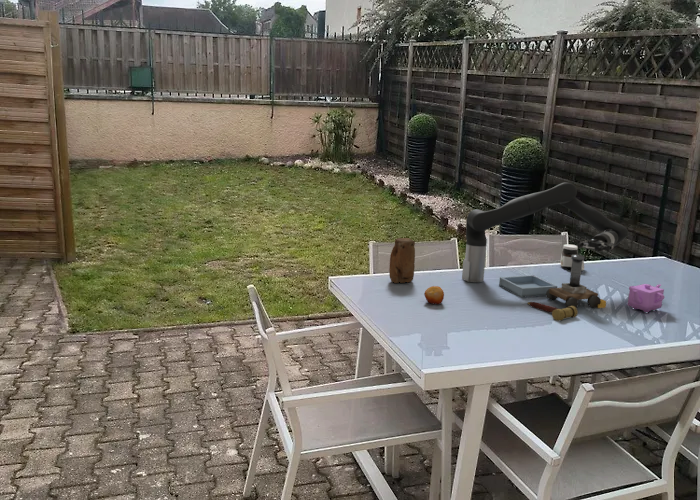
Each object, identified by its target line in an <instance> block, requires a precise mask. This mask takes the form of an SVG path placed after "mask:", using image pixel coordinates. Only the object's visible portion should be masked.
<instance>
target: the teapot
mask: <svg viewBox="0 0 700 500" xmlns="http://www.w3.org/2000/svg"><path fill="white" fill-rule="evenodd" d="M661 286H662V284H660V283H659V284H657V285H656V286H653V285H651V284H648V283H643V284H637V285H630V286H629V287H628V290H629V293H628V297H627V298H628V299H627V306H628V307H631V308H634V309H637V310H641V311H644V312H649V313H650V312H651V310H656V311H657V309H661V308H662V305H663V301H664V299H665V298H666V297H665V295H664V293H665V289H664V288H661ZM634 309H633V310H634ZM644 312H643V313H644Z"/></svg>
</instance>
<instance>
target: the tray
mask: <svg viewBox="0 0 700 500" xmlns="http://www.w3.org/2000/svg"><path fill="white" fill-rule="evenodd" d="M498 287H500V288H502V289H504V290H506V291H508V292H510V293H512V294H514V295H516V296H518V297H520V298H534V297H545V296H546V292H547V290H548V289H550V288H558V285H556V284H555V283H551V282H549V281H547V280H545V279H543V278H540V277H539V276H536V275H533V274H528V275H513V276H501V277H499V284H498Z"/></svg>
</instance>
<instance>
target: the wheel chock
mask: <svg viewBox="0 0 700 500" xmlns="http://www.w3.org/2000/svg"><path fill="white" fill-rule="evenodd" d="M600 300H601V302H600V304H599V305H598V307H597V308H596V309H604V308H606V304H607V300H605V299H602V298H600Z"/></svg>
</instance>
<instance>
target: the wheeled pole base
mask: <svg viewBox="0 0 700 500" xmlns="http://www.w3.org/2000/svg"><path fill="white" fill-rule="evenodd" d="M569 284H570V282H566V283H565V282H564V283H562V284H561V287H557V288H550V289H548V290H547V292H546V299H548V300H551V301H555V300H557V299H558V298H559V299H561V300H563V301H565V303H564V305H565V308H567V307H569V306H574V307H576V309H578V307H579V301H580V300H587V301H586V302H587V306H589V307H591V308H593V309H598V308H597V307H598V305H599V304H600V302H601V300H600V299H601V297H599V293H598V292H595V291H593V290H591V289H588V287H587V286H585V285H582V284H581V283H580V285H579V287H571V286H569Z"/></svg>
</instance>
